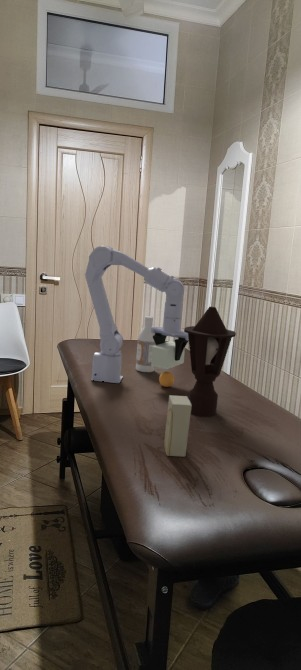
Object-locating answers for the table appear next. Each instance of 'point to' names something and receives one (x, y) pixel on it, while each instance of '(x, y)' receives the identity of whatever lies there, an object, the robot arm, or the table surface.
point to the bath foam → (145, 347)
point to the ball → (166, 379)
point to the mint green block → (165, 355)
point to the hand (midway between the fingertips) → (168, 358)
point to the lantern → (207, 360)
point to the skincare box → (177, 425)
